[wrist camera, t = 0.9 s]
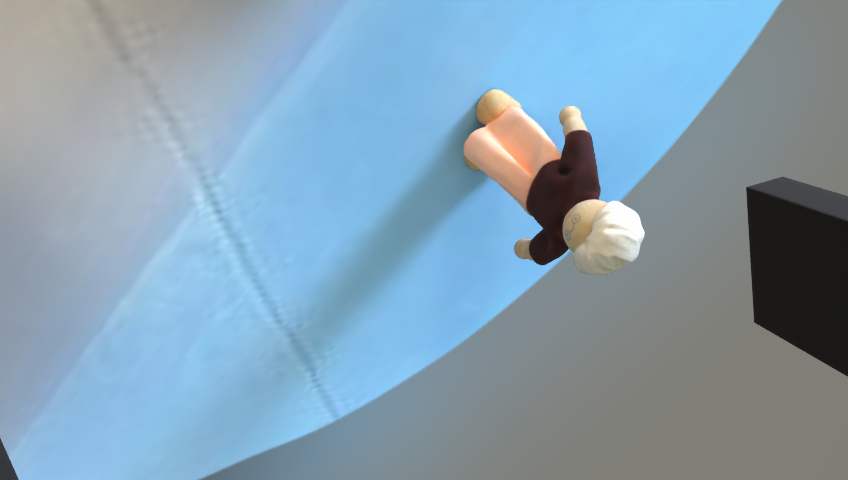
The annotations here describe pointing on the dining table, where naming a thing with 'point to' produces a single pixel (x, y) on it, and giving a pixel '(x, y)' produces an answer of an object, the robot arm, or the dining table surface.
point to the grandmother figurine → (553, 186)
